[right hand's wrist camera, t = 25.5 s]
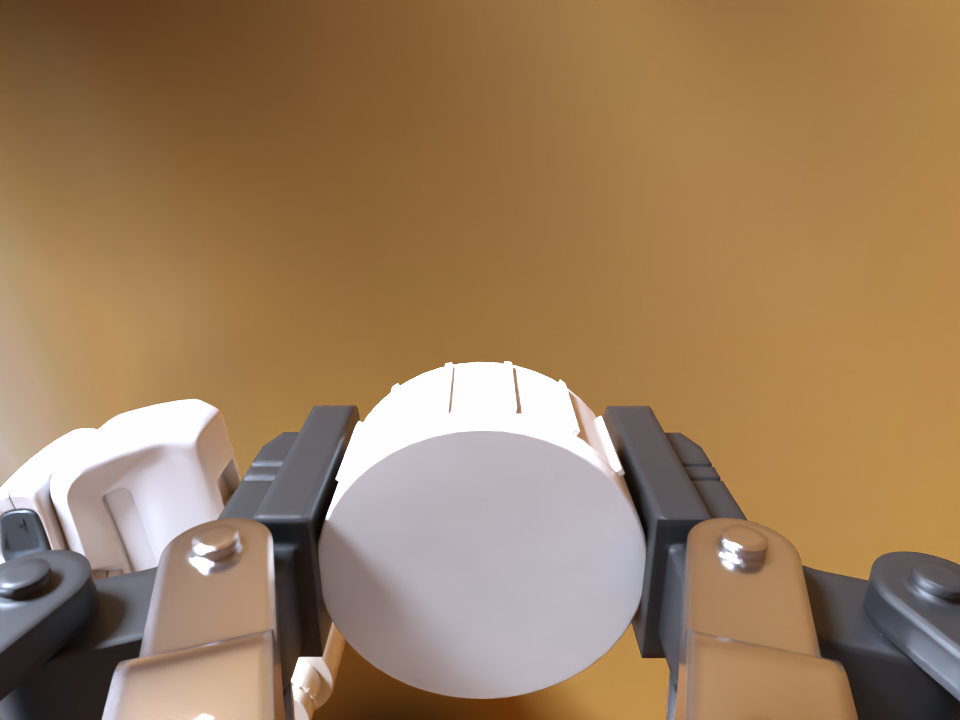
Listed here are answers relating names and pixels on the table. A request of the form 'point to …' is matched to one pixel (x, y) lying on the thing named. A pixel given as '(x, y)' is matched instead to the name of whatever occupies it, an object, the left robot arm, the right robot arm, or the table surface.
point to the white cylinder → (317, 677)
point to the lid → (481, 535)
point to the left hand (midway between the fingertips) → (341, 566)
